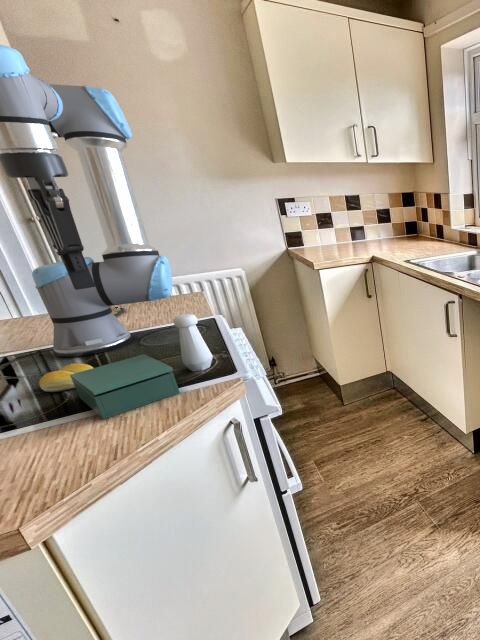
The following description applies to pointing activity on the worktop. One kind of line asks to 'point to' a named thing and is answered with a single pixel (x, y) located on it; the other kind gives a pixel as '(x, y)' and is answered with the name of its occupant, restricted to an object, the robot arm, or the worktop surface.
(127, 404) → the box
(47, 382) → the yellow rounded piece
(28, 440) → the worktop surface
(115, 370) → the box lid
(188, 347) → the salt shaker
